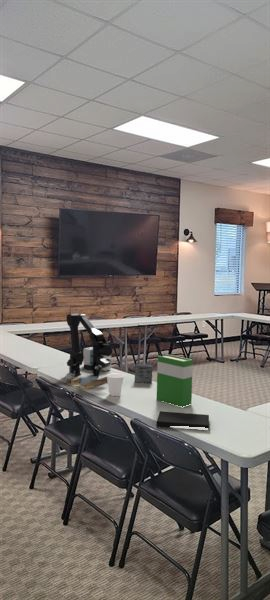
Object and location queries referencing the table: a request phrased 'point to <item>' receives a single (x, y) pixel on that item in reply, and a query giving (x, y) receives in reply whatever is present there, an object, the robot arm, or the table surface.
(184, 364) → the green cereal box
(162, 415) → the black book
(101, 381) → the rack bay
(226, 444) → the table surface
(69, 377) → the winch drum
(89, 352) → the stereo radio cassette player
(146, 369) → the small box
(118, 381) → the cup
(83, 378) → the crate
